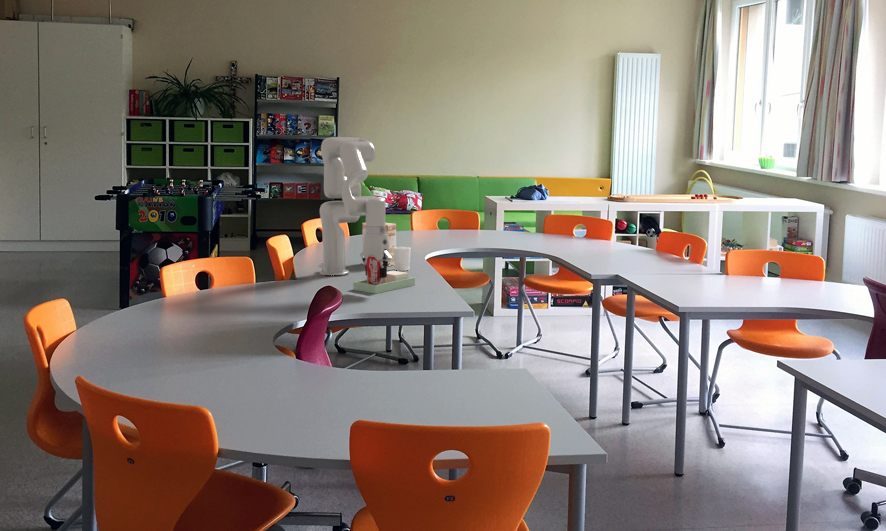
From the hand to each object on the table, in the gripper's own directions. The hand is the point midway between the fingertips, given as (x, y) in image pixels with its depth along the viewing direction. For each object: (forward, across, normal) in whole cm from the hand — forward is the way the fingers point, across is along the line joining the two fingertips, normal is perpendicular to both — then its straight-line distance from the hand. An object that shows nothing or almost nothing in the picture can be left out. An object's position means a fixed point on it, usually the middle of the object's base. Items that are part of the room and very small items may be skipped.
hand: (376, 276), depth 299 cm
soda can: (+4, 0, 0) cm, 4 cm away
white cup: (+7, +26, -42) cm, 50 cm away
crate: (+6, 0, -4) cm, 7 cm away
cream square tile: (+5, 0, -10) cm, 11 cm away
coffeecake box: (+7, +44, -46) cm, 64 cm away
